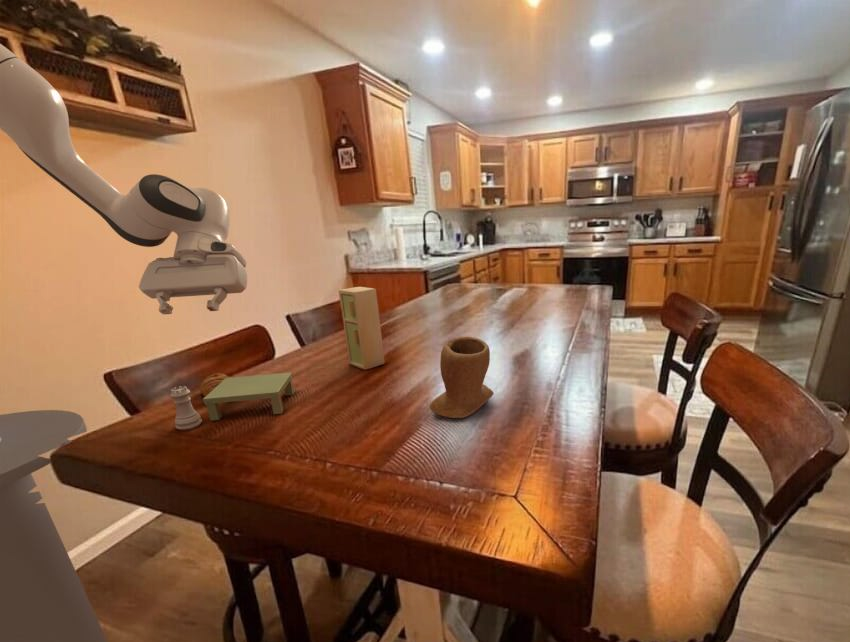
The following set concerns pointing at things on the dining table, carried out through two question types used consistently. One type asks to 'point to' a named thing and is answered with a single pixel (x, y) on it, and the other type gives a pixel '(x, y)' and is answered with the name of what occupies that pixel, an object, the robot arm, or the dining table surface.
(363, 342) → the toy refrigerator
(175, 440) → the dining table surface
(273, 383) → the green miniature table
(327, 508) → the dining table surface
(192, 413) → the rook chess piece
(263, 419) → the dining table surface
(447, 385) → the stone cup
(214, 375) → the pastry
